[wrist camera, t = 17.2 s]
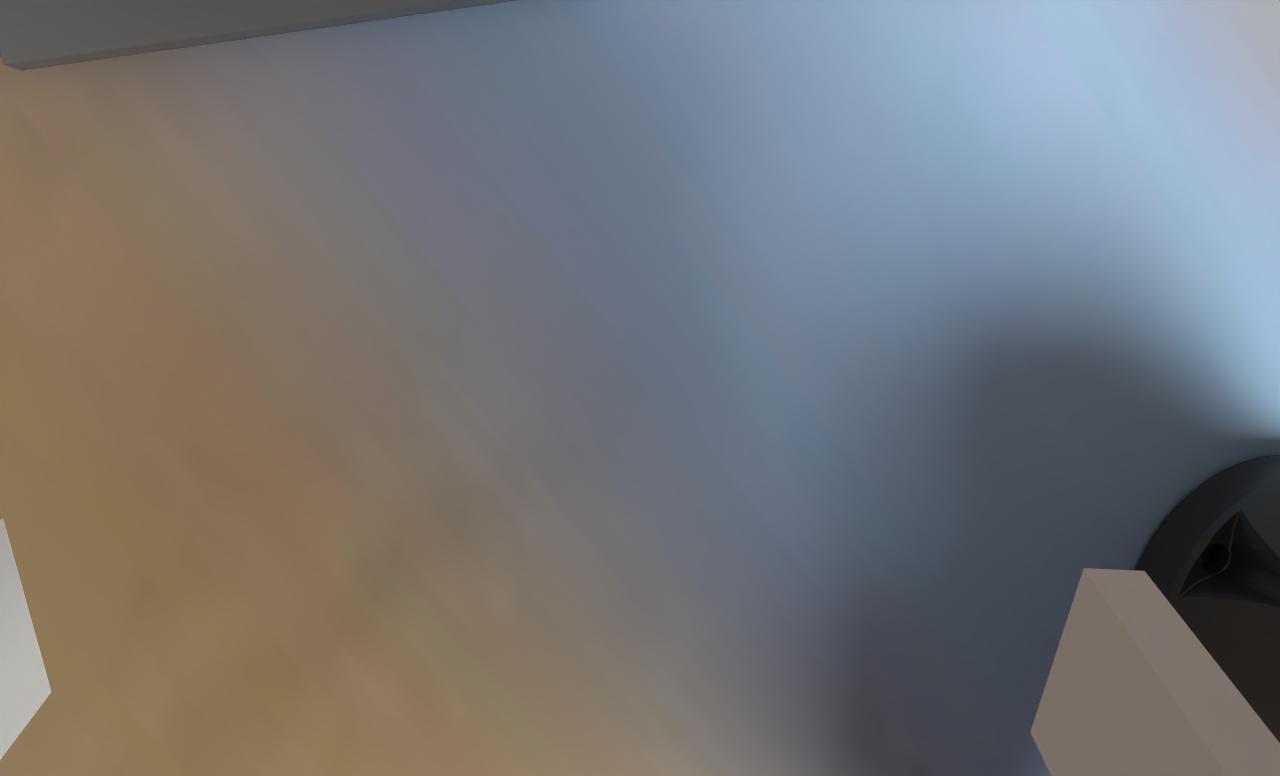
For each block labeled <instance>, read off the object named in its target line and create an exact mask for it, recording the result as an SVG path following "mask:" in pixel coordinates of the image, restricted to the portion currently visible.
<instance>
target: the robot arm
mask: <svg viewBox="0 0 1280 776" xmlns="http://www.w3.org/2000/svg"><path fill="white" fill-rule="evenodd" d="M50 693H51V689H50V685H49V682H48V678H47V674H46V671H45V667H44V664H43V660H42V657H41V653H40V649H39V646H38V642H37V639H36V635H35V631H34V628H33V624H32V621H31V617H30V613H29V610H28V606H27V603H26V599H25V596H24V592H23V588H22V585H21V581H20V578H19V574H18V570H17V567H16V563H15V560H14V556H13V552H12V549H11V545H10V542H9V538H8V535H7V531H6V527H5V524H4V520H3V517H0V759H1V758H2V757H3V755H4V754H5V753H6V751H7V750H8V749H9V747H10V746H11V745H12V744H13V742H14V741H15V740H16V738H17V737H18V736H19V734H20V733H21V732H22V730H23V729H24V728H25V726H26V725H27V724H28V722H29V721H30V720H31V718H32V717H33V716H34V714H35V713H36V712H37V710H38V709H39V708H40V706H41V705H42V704H43V702H44V701H45V700H46V699H47V697H48V696H49V695H50ZM1030 733H1031V735H1032V737H1033V739H1034V741H1035V743H1036V745H1037V747H1038V750H1039V752H1040V754H1041V756H1042V758H1043V760H1044V762H1045V764H1046V766H1047V768H1048V770H1049V772H1050V774H1051V776H1280V455H1275V456H1267V457H1262V458H1257V459H1254V460H1250V461H1247V462H1244V463H1242V464H1239V465H1236V466H1234V467H1232V468H1230V469H1228V470H1225V471H1224V472H1222V473H1220V474H1218V475H1216V476H1215V477H1213V478H1212V479H1210V480H1209V481H1207V482H1206V483H1204V484H1203V485H1202V486H1200V487H1199V488H1197V489H1196V490H1195V491H1194V492H1193V493H1191V494H1190V495H1189V496H1188V497H1187V498H1186V499H1185V500H1184V501H1183V502H1182V503H1181V504H1180V505H1179V506H1178V507H1177V508H1176V509H1175V510H1174V511H1173V512H1172V513H1171V514H1170V516H1169V517H1168V518H1167V519H1166V521H1165V522H1164V523H1163V524H1162V526H1161V527H1160V529H1159V530H1158V532H1157V533H1156V534H1155V536H1154V538H1153V539H1152V541H1151V543H1150V544H1149V546H1148V548H1147V550H1146V552H1145V554H1144V555H1143V558H1142V560H1141V562H1140V564H1139V566H1138V569H1137V571H1136V570H1115V569H1093V568H1084V569H1083V572H1082V575H1081V578H1080V581H1079V584H1078V587H1077V590H1076V593H1075V596H1074V599H1073V602H1072V606H1071V609H1070V612H1069V615H1068V618H1067V621H1066V624H1065V627H1064V630H1063V633H1062V636H1061V639H1060V642H1059V645H1058V648H1057V652H1056V655H1055V658H1054V661H1053V664H1052V667H1051V670H1050V673H1049V676H1048V679H1047V682H1046V685H1045V688H1044V691H1043V694H1042V698H1041V701H1040V704H1039V707H1038V710H1037V713H1036V716H1035V719H1034V722H1033V725H1032V728H1031V731H1030Z"/></svg>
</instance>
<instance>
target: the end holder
mask: <svg viewBox="0 0 1280 776" xmlns="http://www.w3.org/2000/svg"><path fill="white" fill-rule="evenodd" d="M506 1H513V0H0V52H1V55H2V59H3V62H4V65H7V66H10V67H12V68H15V69H18V70H26V69H33V68H40V67H47V66H54V65H61V64H68V63H76V62H83V61H90V60H97V59H104V58H111V57H118V56H125V55H132V54H139V53H146V52H153V51H160V50H167V49H174V48H181V47H188V46H195V45H203V44H210V43H217V42H224V41H231V40H238V39H245V38H252V37H259V36H266V35H273V34H280V33H287V32H294V31H301V30H308V29H315V28H322V27H330V26H337V25H344V24H351V23H358V22H365V21H372V20H379V19H386V18H393V17H400V16H407V15H414V14H421V13H428V12H435V11H442V10H450V9H457V8H464V7H471V6H478V5H485V4H492V3H499V2H506Z"/></svg>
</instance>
